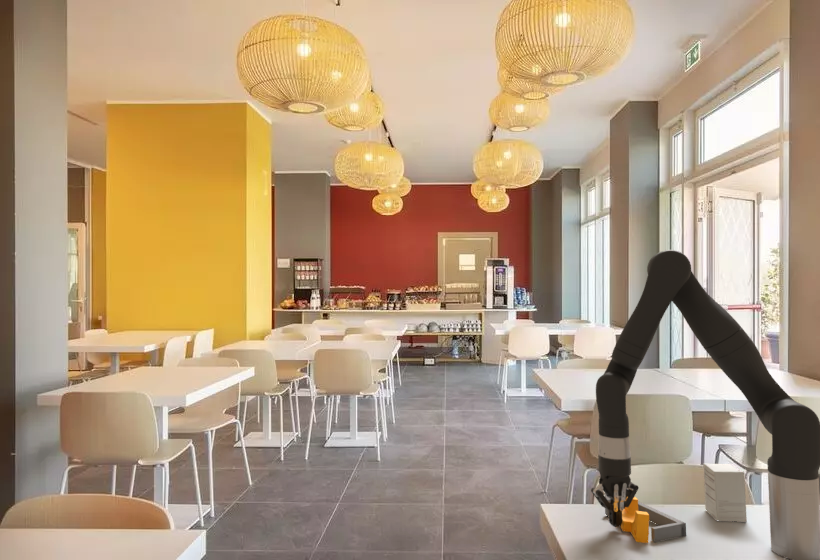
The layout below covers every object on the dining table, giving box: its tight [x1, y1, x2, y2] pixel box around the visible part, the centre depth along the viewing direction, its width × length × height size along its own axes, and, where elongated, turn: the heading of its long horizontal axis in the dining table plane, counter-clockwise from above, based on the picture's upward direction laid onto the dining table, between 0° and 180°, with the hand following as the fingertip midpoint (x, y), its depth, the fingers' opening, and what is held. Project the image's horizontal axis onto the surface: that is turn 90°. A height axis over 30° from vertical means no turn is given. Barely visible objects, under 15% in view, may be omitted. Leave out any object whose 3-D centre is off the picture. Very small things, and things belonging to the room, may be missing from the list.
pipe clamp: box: [619, 496, 650, 544], centre depth 131 cm, size 12×4×6 cm, turn 171°
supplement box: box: [703, 462, 748, 523], centre depth 140 cm, size 7×7×13 cm
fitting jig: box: [604, 500, 687, 543], centre depth 135 cm, size 10×17×3 cm, turn 20°
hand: (615, 525), depth 132 cm, fingers closed
